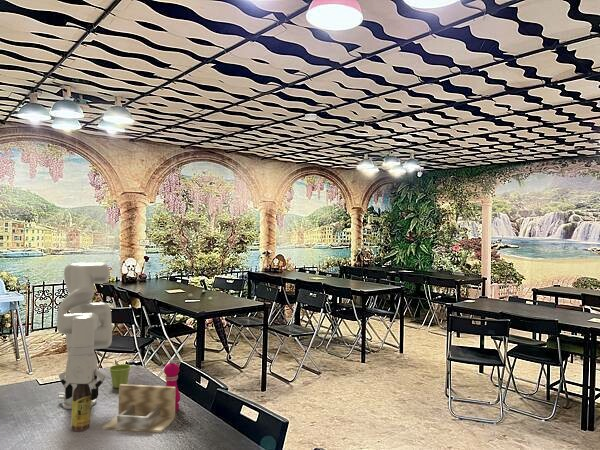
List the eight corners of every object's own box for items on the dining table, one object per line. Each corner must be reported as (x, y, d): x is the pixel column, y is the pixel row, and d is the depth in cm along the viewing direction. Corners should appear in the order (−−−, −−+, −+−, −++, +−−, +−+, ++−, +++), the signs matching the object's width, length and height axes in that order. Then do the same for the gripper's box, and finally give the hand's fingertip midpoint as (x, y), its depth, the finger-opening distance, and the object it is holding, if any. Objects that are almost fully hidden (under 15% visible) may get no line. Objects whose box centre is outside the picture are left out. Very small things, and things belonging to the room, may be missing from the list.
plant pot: (125, 389, 210) (126, 370, 210) (105, 389, 210) (105, 369, 210) (133, 382, 219) (134, 364, 220) (113, 382, 220) (114, 364, 220)
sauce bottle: (77, 433, 164) (78, 376, 164) (67, 429, 167) (68, 373, 167) (94, 427, 169) (95, 372, 170) (84, 423, 173) (85, 369, 173)
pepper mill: (175, 413, 183) (176, 362, 183) (158, 411, 184) (159, 361, 185) (183, 406, 190) (184, 357, 191) (166, 405, 192) (167, 356, 192)
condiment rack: (102, 429, 168) (103, 395, 168) (120, 415, 181) (120, 384, 181) (161, 432, 165) (162, 398, 166) (175, 418, 178) (175, 386, 179)
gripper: (53, 352, 166) (52, 401, 165) (99, 353, 164) (98, 403, 163) (66, 347, 173) (65, 394, 172) (110, 348, 171) (109, 396, 171)
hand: (81, 398), depth 168 cm, fingers open, 9 cm apart
